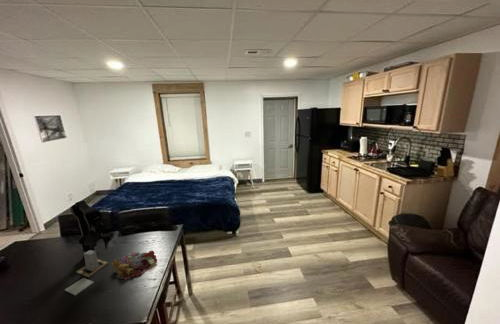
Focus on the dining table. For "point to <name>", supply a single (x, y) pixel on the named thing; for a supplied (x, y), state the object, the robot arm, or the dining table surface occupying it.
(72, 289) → the ceramic coaster
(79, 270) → the frame
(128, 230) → the dining table surface
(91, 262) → the skincare box
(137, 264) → the candy landscape model
